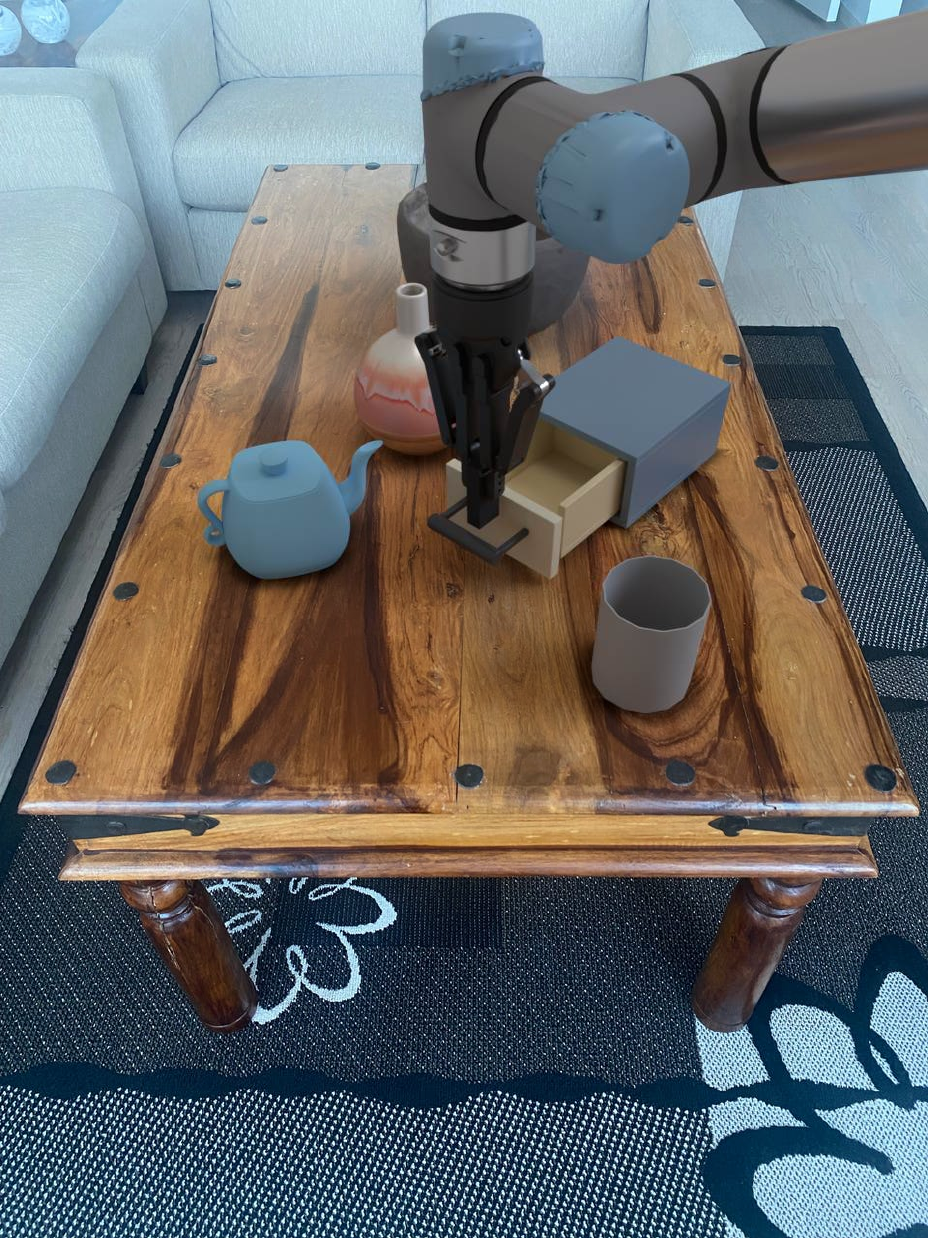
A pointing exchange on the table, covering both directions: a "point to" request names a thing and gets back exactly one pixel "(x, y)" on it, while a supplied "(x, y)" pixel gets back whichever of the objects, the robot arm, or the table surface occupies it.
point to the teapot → (285, 508)
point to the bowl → (552, 269)
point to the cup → (649, 632)
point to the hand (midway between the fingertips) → (483, 518)
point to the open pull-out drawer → (539, 502)
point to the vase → (399, 382)
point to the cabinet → (640, 417)
